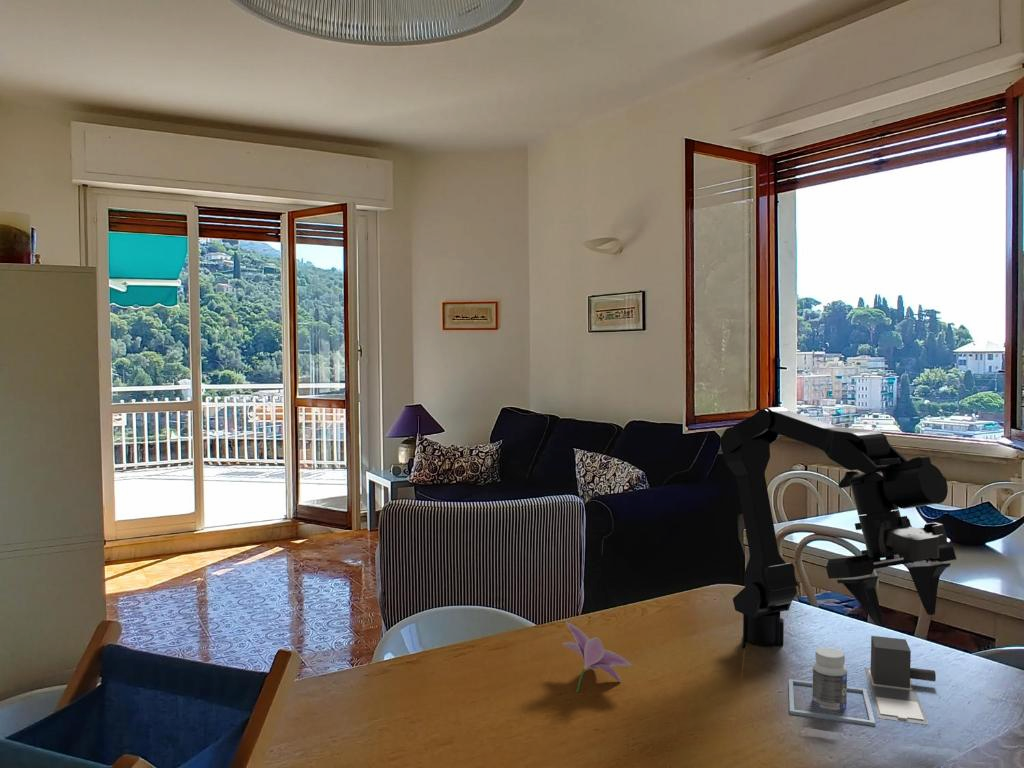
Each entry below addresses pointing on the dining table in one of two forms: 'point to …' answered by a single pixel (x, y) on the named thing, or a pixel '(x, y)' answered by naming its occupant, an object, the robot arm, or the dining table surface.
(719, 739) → the dining table surface
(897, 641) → the grey block with peg
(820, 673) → the pill bottle
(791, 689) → the grey square frame
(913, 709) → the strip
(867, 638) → the dining table surface
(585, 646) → the lily
